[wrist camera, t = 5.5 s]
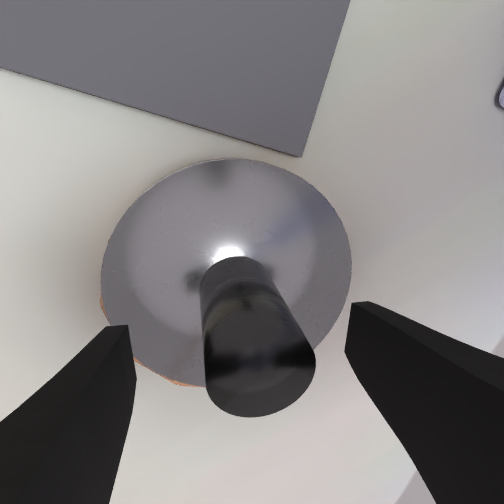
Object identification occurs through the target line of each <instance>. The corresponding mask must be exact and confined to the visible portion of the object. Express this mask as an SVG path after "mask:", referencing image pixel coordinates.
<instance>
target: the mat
mask: <svg viewBox="0 0 504 504" xmlns="http://www.w3.org/2000/svg"><path fill="white" fill-rule="evenodd" d="M349 3H350V0H0V67H1V68H4V69H8V70H11V71H14V72H18V73H21V74H24V75H28V76H31V77H34V78H37V79H41V80H44V81H47V82H51V83H54V84H57V85H61V86H64V87H67V88H71V89H74V90H77V91H81V92H84V93H87V94H91V95H94V96H97V97H101V98H104V99H107V100H111V101H114V102H117V103H121V104H124V105H127V106H131V107H134V108H137V109H140V110H144V111H147V112H150V113H154V114H157V115H160V116H164V117H167V118H170V119H174V120H177V121H180V122H184V123H187V124H190V125H194V126H197V127H200V128H204V129H207V130H210V131H214V132H217V133H220V134H224V135H227V136H230V137H234V138H237V139H240V140H243V141H247V142H250V143H253V144H257V145H260V146H263V147H267V148H270V149H273V150H277V151H280V152H283V153H287V154H290V155H293V156H297V157H302V155H303V151H304V148H305V145H306V142H307V138H308V135H309V132H310V129H311V126H312V122H313V119H314V116H315V113H316V110H317V106H318V103H319V100H320V97H321V93H322V90H323V87H324V84H325V81H326V77H327V74H328V71H329V68H330V65H331V61H332V58H333V55H334V52H335V48H336V45H337V42H338V39H339V36H340V32H341V29H342V26H343V23H344V19H345V16H346V13H347V10H348V7H349Z"/></svg>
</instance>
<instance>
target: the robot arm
mask: <svg viewBox="0 0 504 504" xmlns="http://www.w3.org/2000/svg"><path fill="white" fill-rule="evenodd" d="M499 103H500V105H501V106H502V107H504V87H503V89H502V91H501V93H500V96H499ZM344 352H345V354H346V357H347V359H348V361H349V363H350V365H351V367H352V369H353V371H354V373H355V375H356V376H357V378H358V380H359V381H360V383H361V385H362V386H363V388H364V389H365V391H366V392H367V394H368V395H369V397H370V398H371V399H372V401H373V402H374V404H375V405H376V407H377V408H378V410H379V411H380V413H381V414H382V416H383V417H384V418H385V420H386V421H387V423H388V424H389V426H390V427H391V429H392V430H393V432H394V433H395V435H396V436H397V437H398V439H399V440H400V442H401V443H402V445H403V446H404V448H405V450H406V451H407V453H408V454H409V456H410V458H411V459H412V461H413V463H414V464H415V466H416V468H417V470H418V471H419V473H420V475H421V477H422V479H423V480H424V482H425V484H426V486H427V488H428V489H429V491H430V493H431V494H432V496H433V498H434V500H435V502H436V504H504V358H501V357H499V356H496V355H493V354H490V353H488V352H485V351H483V350H480V349H477V348H475V347H473V346H470V345H468V344H465V343H463V342H460V341H458V340H456V339H453V338H451V337H449V336H446V335H444V334H442V333H439V332H437V331H435V330H433V329H430V328H428V327H426V326H424V325H422V324H420V323H417V322H415V321H413V320H411V319H409V318H407V317H404V316H402V315H400V314H398V313H396V312H394V311H391V310H389V309H387V308H384V307H382V306H380V305H377V304H375V303H372V302H369V301H365V302H355V303H352V304H351V311H350V318H349V324H348V331H347V338H346V344H345V351H344ZM136 381H137V377H136V371H135V365H134V359H133V353H132V346H131V340H130V334H129V328H128V325H117V326H107V327H105V328H104V329H103V330H102V331H101V332H100V333H99V334H98V335H97V336H96V337H94V338H93V339H92V340H91V341H90V342H89V343H88V344H87V345H86V346H85V347H84V348H83V349H82V350H81V351H80V352H79V353H78V354H77V355H76V356H75V357H74V358H73V359H72V360H71V361H70V362H69V363H68V364H67V365H65V366H64V367H63V368H62V369H61V370H60V371H59V372H58V373H57V374H56V375H55V376H54V377H53V378H51V379H50V380H49V381H48V382H47V383H46V384H45V385H43V386H42V387H41V388H40V389H39V390H38V391H36V392H35V393H34V394H33V395H32V396H31V397H30V398H28V399H27V400H26V401H25V402H24V403H23V404H22V405H20V406H19V407H18V408H17V409H16V410H14V411H13V412H12V413H11V414H9V415H8V416H7V417H6V418H4V419H3V420H2V421H1V422H0V504H109V502H110V498H111V494H112V490H113V486H114V482H115V478H116V475H117V471H118V467H119V463H120V459H121V455H122V451H123V447H124V443H125V440H126V436H127V432H128V428H129V424H130V420H131V416H132V411H133V404H134V397H135V389H136Z"/></svg>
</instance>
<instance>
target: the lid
mask: <svg viewBox="0 0 504 504" xmlns="http://www.w3.org/2000/svg"><path fill="white" fill-rule="evenodd" d="M351 264H352V263H351V252H350V246H349V242H348V238H347V234H346V232H345V229H344V227H343V224H342V222H341V220H340V218H339V216H338V215H337V213H336V211H335V210H334V208H333V207H332V206H331V204H330V203H329V202H328V201H327V199H326V198H325V197H324V196H323V195H322V194H321V193H320V192H319V191H318V190H317V189H316V188H314V187H313V186H312V185H311V184H309V183H308V182H306V181H305V180H303V179H302V178H300V177H299V176H297V175H295V174H293V173H291V172H289V171H287V170H285V169H282V168H279V167H276V166H273V165H270V164H267V163H264V162H259V161H254V160H248V159H231V158H226V159H216V160H208V161H204V162H200V163H196V164H192V165H189V166H187V167H184V168H182V169H179V170H177V171H175V172H173V173H171V174H169V175H167V176H166V177H164V178H162V179H160V180H159V181H158V182H156V183H155V184H154V185H152V186H151V187H150V188H148V189H147V190H146V191H145V192H144V193H143V194H142V195H141V196H140V197H139V198H138V199H137V200H136V201H135V202H134V203H133V204H132V205H131V206H130V208H129V209H128V210H127V211H126V213H125V214H124V216H123V217H122V218H121V220H120V221H119V223H118V224H117V226H116V228H115V230H114V232H113V234H112V236H111V237H110V239H109V242H108V245H107V248H106V251H105V254H104V258H103V264H102V270H101V293H102V300H103V306H104V309H105V312H106V315H107V318H108V321H109V323H110V325H111V326H117V325H128V328H129V334H130V340H131V346H132V353H133V356H134V357H135V358H136V359H137V360H139V361H140V362H141V363H142V364H143V365H145V366H146V367H148V368H150V369H151V370H153V371H154V372H156V373H158V374H160V375H162V376H165V377H167V378H169V379H172V380H175V381H178V382H181V383H184V384H189V385H194V386H201V387H206V389H207V392H208V395H209V397H210V398H211V400H212V401H213V402H214V404H215V405H216V406H218V407H219V408H220V409H222V410H223V411H225V412H227V413H229V414H232V415H235V416H240V417H260V416H266V415H270V414H273V413H276V412H278V411H280V410H282V409H284V408H286V407H288V406H289V405H291V404H292V403H294V402H295V401H296V400H297V399H298V398H299V397H300V396H301V395H302V394H303V393H304V392H305V391H306V389H307V388H308V387H309V385H310V383H311V381H312V379H313V376H314V373H315V368H316V359H315V354H314V351H313V349H314V348H315V347H316V346H317V345H318V344H319V343H320V342H321V341H322V340H323V339H324V338H325V336H326V335H327V334H328V332H329V331H330V330H331V328H332V327H333V325H334V323H335V322H336V320H337V318H338V317H339V315H340V312H341V310H342V308H343V306H344V304H345V300H346V297H347V294H348V291H349V285H350V279H351Z"/></svg>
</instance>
